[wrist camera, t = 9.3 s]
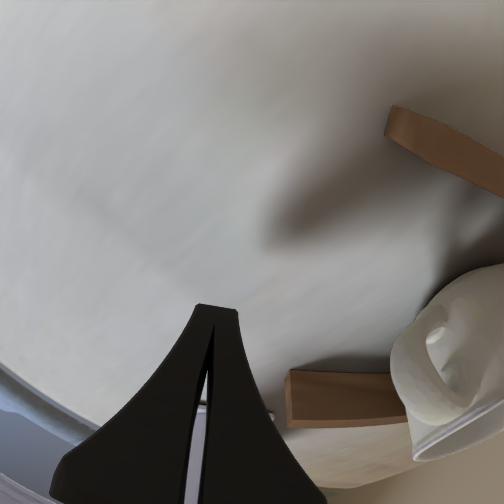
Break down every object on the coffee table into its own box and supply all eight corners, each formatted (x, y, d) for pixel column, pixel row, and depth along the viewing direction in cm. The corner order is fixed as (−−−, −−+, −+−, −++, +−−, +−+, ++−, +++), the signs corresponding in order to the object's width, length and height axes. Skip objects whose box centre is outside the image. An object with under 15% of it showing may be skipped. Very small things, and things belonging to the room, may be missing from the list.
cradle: (464, 376, 19) (476, 408, 16) (284, 379, 18) (286, 427, 15) (573, 213, 10) (603, 242, 7) (392, 105, 9) (443, 123, 6)
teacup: (531, 290, 14) (582, 372, 7) (427, 378, 19) (453, 466, 12) (466, 150, 9) (608, 260, 3) (303, 311, 14) (320, 471, 8)
